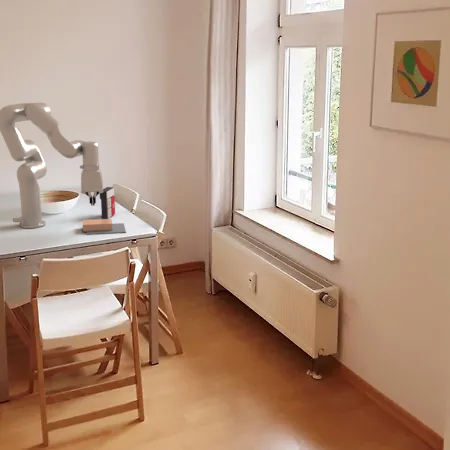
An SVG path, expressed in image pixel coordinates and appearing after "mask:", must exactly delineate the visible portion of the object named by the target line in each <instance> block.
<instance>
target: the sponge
mask: <svg viewBox="0 0 450 450" xmlns="http://www.w3.org/2000/svg"><path fill="white" fill-rule="evenodd" d="M112 224H113V221H112V218H109V219H102V218H98V219H83V220H82V232H83V233H87V232H92V231H112Z"/></svg>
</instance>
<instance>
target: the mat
mask: <svg viewBox="0 0 450 450" xmlns="http://www.w3.org/2000/svg"><path fill="white" fill-rule="evenodd" d="M126 233H127V231H126V227H125V223H123V222H121V223H118V222H117V223H112V231H92V232H86V235H87V236H91V235H105V234H106V235H107V234H108V235H109V234H111V235H113V234H126Z"/></svg>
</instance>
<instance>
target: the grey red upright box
mask: <svg viewBox="0 0 450 450" xmlns="http://www.w3.org/2000/svg"><path fill="white" fill-rule="evenodd" d="M115 198H116V197H115V188H114V187H113V186H107V187H105V188H104V187H103V193H100V194H99V199H100V204H101V205H100V206H101V207H100V209H101V219H108V218H109V219H111V217H113V216H114V215H116V200H115Z"/></svg>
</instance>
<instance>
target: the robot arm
mask: <svg viewBox="0 0 450 450" xmlns="http://www.w3.org/2000/svg"><path fill="white" fill-rule="evenodd" d="M24 121H30V122H31V123H32V124H33V125H34V126H36V127H37V128H38V129H39V130H40V131H42V133H44V135H45V136H46V137H47V138H48V141H49V143H50V145H51V146H52V147H53V149H54V150H56V151H57V152H58V153H59V154H60V155H62V156H63V157H65V158H67V159H74V158H77V157H80V156H81V157H82V165H79V169H81V173H80V188H81V191H80V193H81V194H82V195H86V196H87V197H88V198H89V199H88V200H89V204H91V205H90V206H95V204H96V203H97V200H96V198H97V196H98V195H100V193H103V189H104V184H103V175H102V169H100V158H99V157H100V156H99V144H98V142H97V141H84V140H80V139H75V140H72V141H69V139H67V138H66V137H65V136H63V134H62V133H61V132H60V122H59V121H58V120H57V119H56V118H54V116H53V115H52V110H51V108H50V106H49V105H48V104H47V103H45V102H29V103H28V102H27V103H26V102H23V103H16V104H14V103H13V104H8V105H6V106H3V107H2V108H1V109H0V134H1V136H2V137H3V140H4V143H5V144H6V147H7V149H8V151H9V154H10V156H11V158H12V159H13V160H14V161H16V162H23V161H25V162H24V163H22V164H21V165H20V166H18V168H17V170H16V178H17V182H18V187H19V195H20V197H19V198H20V207H21V208H20V209H21V216H20V217H19V216H18V217H12V222H14V223H18V227H20V228H22V229H23V228H24V229H36V228H41V227H44V226H45V225H46V221H45V220H43V216H42V215H43V213H42V203H41V202H42V201H41V200H42V199H41V191H40V190H41V189H40V185H39V183H38V180H39V179H42V178H44V177H45V176H46V174H47V172H48V170H47V164H46V163H45V160H44V158H43V157H44V156H43V155H42V153H41V151H40V149H39V146H38V144H37V143H35V142H34V141H33V140H31V139H25V138H24V137H23V135H22V132H21V131H20V129H19V128H18V126H17V125H16V123H18V122H24ZM92 192H93V195H92Z"/></svg>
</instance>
